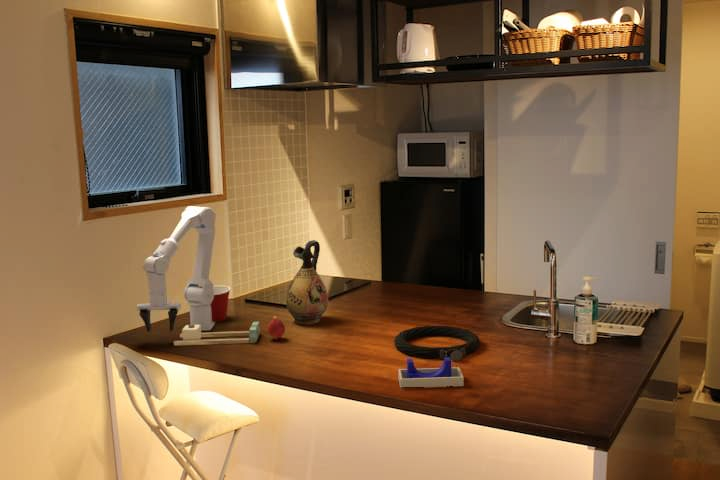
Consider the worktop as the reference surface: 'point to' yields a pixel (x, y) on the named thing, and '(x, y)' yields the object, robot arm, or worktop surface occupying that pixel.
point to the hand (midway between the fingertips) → (160, 330)
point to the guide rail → (252, 333)
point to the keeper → (191, 332)
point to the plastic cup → (220, 302)
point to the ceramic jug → (307, 288)
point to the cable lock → (437, 352)
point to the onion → (276, 328)
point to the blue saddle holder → (441, 372)
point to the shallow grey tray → (431, 379)
